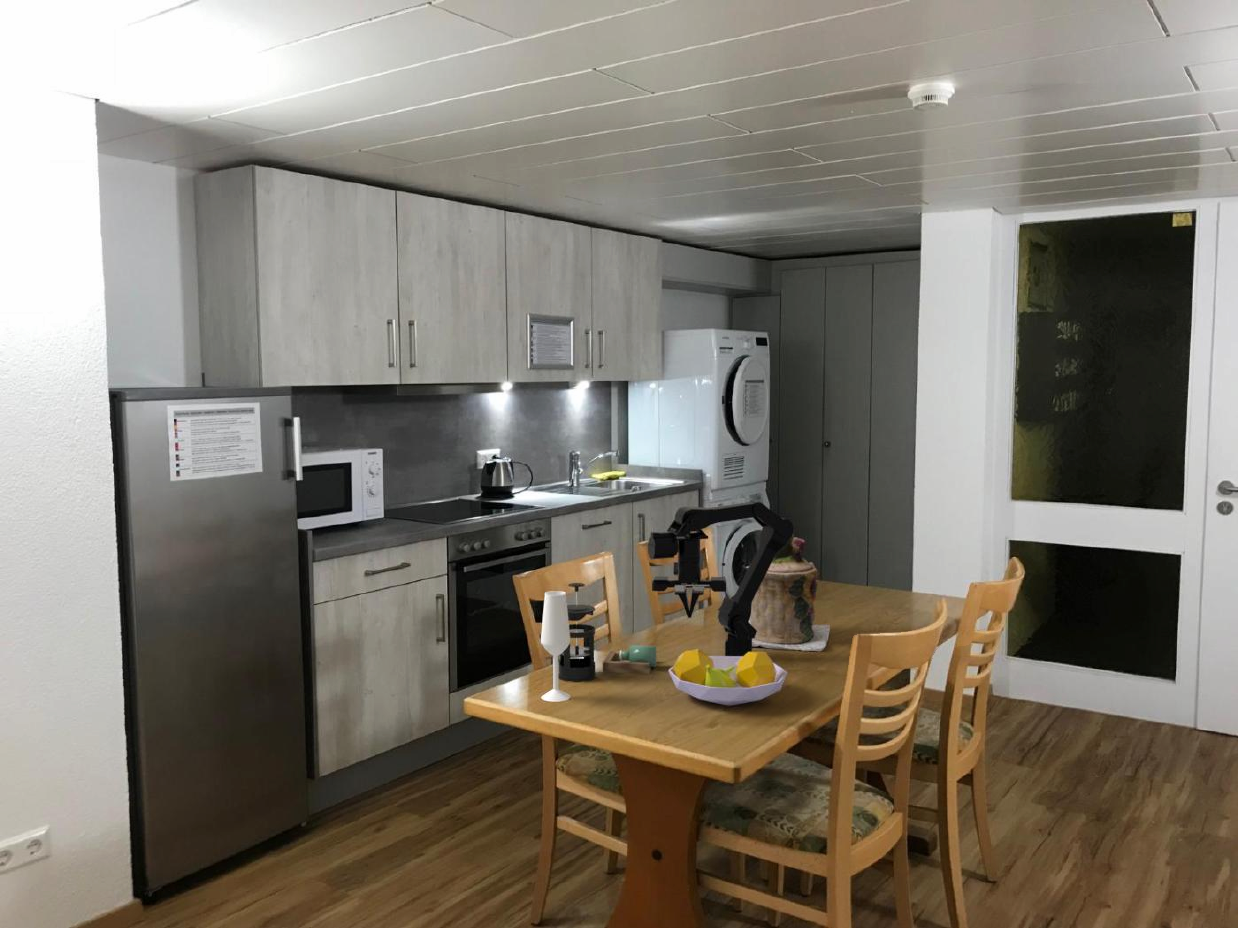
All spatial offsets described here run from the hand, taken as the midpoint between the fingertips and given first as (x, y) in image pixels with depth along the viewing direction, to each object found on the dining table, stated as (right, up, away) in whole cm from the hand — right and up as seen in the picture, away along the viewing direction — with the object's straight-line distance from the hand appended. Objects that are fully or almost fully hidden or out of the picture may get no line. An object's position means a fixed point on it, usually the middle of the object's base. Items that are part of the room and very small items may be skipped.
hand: (689, 617), depth 256 cm
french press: (-29, -13, -10) cm, 33 cm away
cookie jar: (+28, -10, +25) cm, 39 cm away
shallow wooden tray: (-15, -12, -3) cm, 19 cm away
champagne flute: (-32, -14, -27) cm, 44 cm away
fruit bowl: (+6, -14, -27) cm, 31 cm away
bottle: (-9, -9, -4) cm, 13 cm away
